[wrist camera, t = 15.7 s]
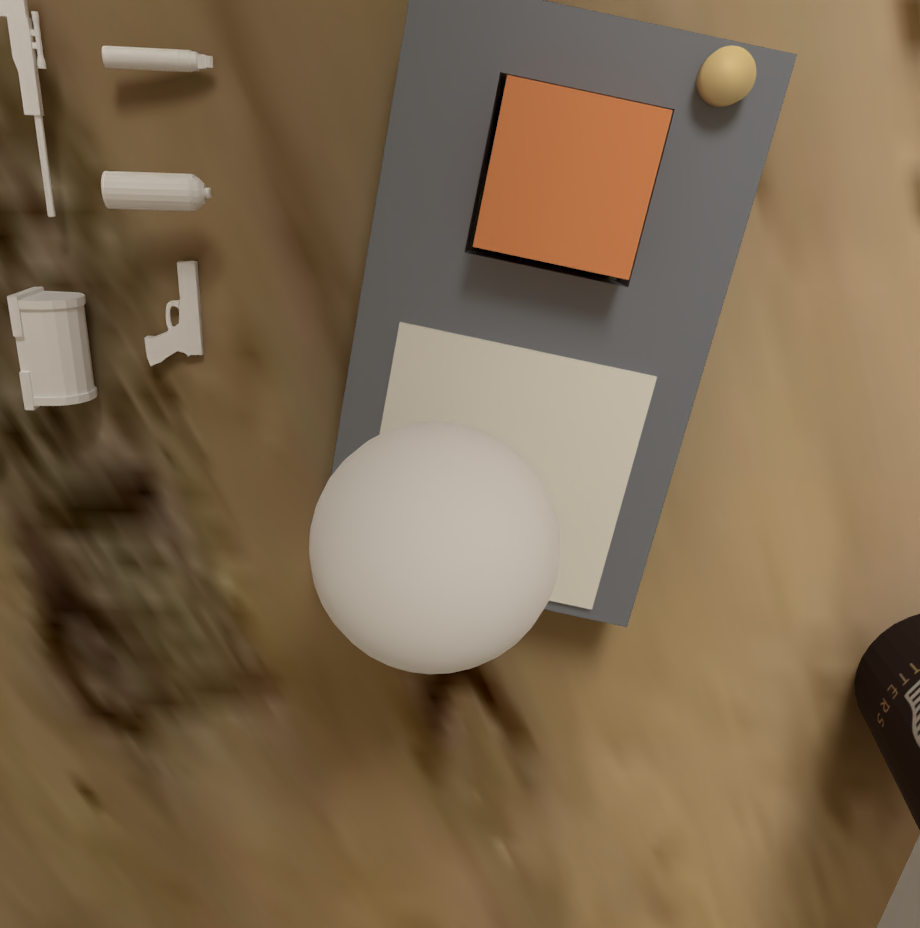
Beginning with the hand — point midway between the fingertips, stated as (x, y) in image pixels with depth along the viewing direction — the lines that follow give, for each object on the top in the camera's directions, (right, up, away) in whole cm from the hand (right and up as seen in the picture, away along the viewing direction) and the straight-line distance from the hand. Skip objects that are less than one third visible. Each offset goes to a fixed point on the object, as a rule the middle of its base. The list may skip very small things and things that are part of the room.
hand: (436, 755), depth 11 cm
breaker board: (+3, +9, +20) cm, 22 cm away
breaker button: (+4, +14, +17) cm, 23 cm away
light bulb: (0, +4, +18) cm, 19 cm away
